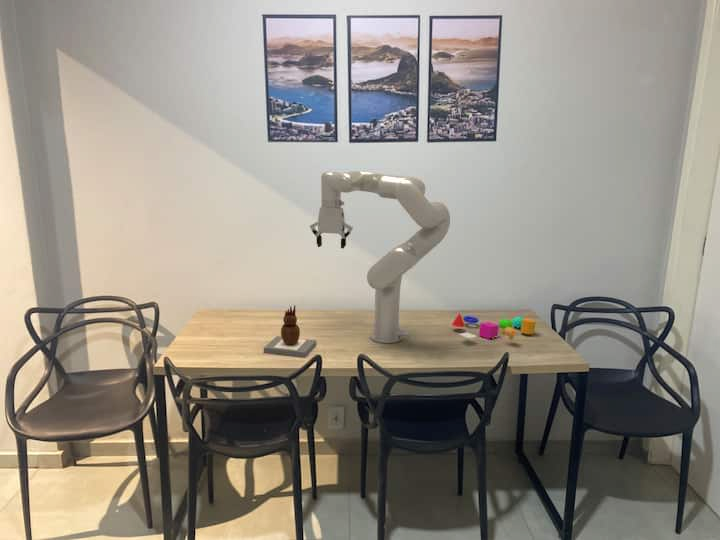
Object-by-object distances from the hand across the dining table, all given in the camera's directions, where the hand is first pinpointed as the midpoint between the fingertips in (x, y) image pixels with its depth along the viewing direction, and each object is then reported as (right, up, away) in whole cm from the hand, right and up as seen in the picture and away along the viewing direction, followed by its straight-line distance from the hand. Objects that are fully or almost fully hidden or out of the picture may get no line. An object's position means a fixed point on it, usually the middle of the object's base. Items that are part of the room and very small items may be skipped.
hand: (331, 247), depth 208 cm
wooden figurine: (-14, -37, -14) cm, 42 cm away
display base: (-14, -39, -13) cm, 43 cm away
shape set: (+65, -35, +4) cm, 74 cm away
